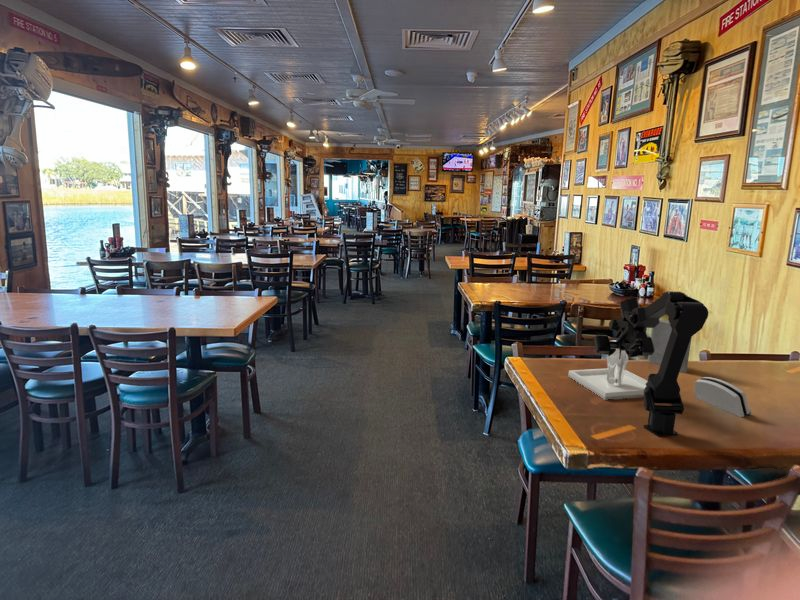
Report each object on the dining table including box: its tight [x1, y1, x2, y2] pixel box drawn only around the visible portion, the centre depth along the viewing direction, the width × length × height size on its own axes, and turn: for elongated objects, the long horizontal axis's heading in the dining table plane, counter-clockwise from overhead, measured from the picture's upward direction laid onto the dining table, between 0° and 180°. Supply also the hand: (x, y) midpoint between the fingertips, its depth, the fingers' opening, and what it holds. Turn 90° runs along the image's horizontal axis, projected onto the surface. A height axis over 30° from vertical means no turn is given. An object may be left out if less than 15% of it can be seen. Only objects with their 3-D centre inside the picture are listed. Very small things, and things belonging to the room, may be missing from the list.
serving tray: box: [567, 367, 648, 401], centre depth 179 cm, size 22×22×2 cm
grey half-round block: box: [694, 376, 753, 418], centre depth 162 cm, size 17×5×10 cm, turn 19°
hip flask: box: [647, 319, 692, 374], centre depth 200 cm, size 16×4×20 cm, turn 29°
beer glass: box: [605, 339, 630, 387], centre depth 177 cm, size 7×7×15 cm
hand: (615, 356), depth 178 cm, fingers open, 9 cm apart
